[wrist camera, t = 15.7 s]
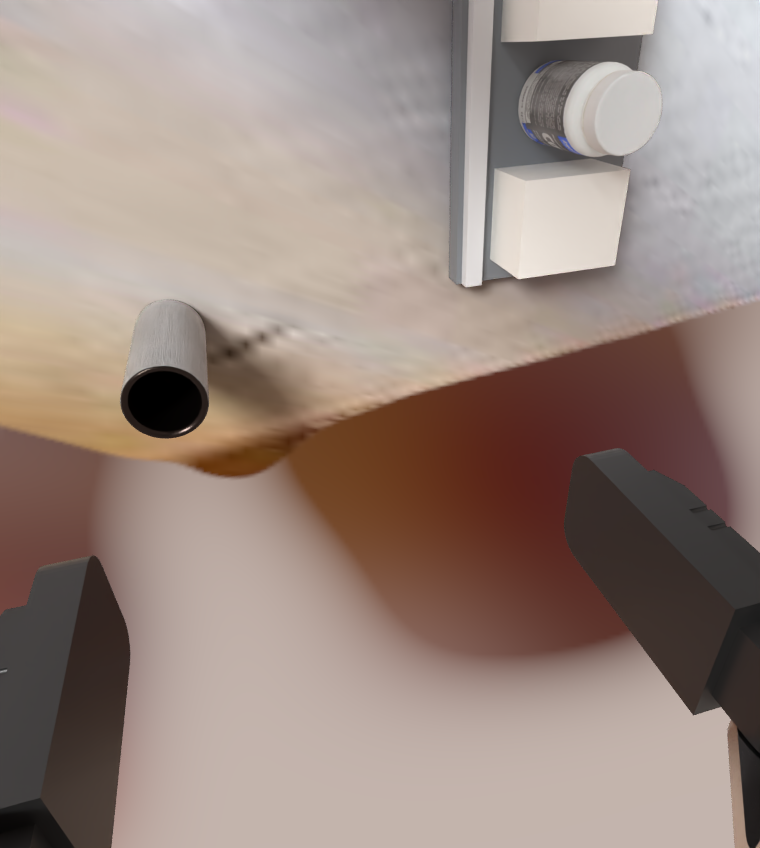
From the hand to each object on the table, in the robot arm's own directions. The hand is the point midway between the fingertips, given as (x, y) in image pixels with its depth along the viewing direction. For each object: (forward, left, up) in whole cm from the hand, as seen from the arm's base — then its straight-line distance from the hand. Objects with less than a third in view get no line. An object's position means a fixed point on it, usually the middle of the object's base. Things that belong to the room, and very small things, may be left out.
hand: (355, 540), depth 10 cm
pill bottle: (-3, +20, -32) cm, 38 cm away
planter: (+9, -6, -33) cm, 35 cm away
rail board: (-3, +20, -33) cm, 39 cm away
